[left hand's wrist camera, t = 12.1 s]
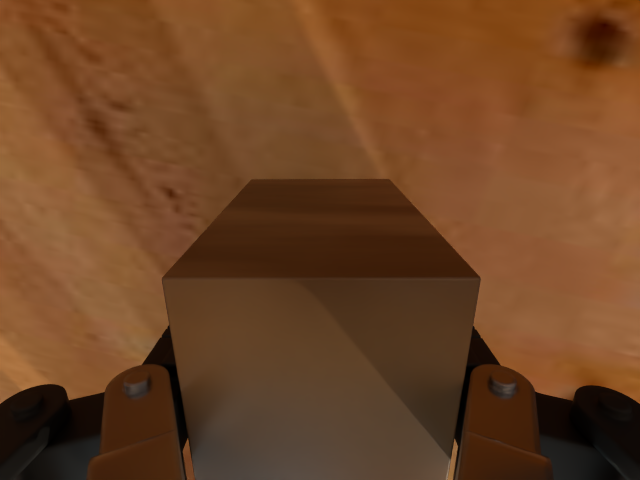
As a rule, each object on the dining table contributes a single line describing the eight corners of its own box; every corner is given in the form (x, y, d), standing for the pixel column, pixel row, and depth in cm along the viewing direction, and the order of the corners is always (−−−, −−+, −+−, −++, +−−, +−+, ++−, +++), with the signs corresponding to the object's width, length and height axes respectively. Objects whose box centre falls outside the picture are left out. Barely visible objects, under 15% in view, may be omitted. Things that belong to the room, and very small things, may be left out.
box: (251, 179, 16) (160, 277, 7) (389, 178, 16) (482, 277, 7) (273, 522, 23) (245, 783, 14) (367, 522, 23) (397, 783, 14)
